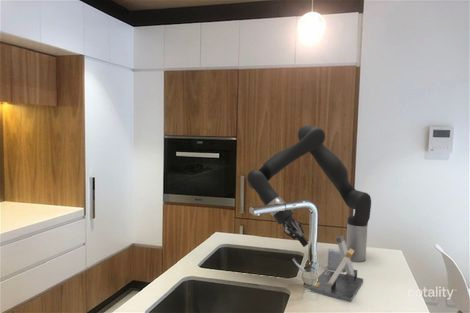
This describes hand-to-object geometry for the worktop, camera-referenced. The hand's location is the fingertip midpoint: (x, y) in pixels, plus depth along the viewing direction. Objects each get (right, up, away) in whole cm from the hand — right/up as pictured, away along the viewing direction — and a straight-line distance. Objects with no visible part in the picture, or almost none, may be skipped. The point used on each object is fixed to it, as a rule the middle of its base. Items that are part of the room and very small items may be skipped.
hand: (306, 245), depth 141 cm
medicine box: (+17, -16, +19) cm, 30 cm away
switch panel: (+12, -17, +1) cm, 21 cm away
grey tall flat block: (+20, -15, +4) cm, 25 cm away
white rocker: (+8, -15, -3) cm, 17 cm away
